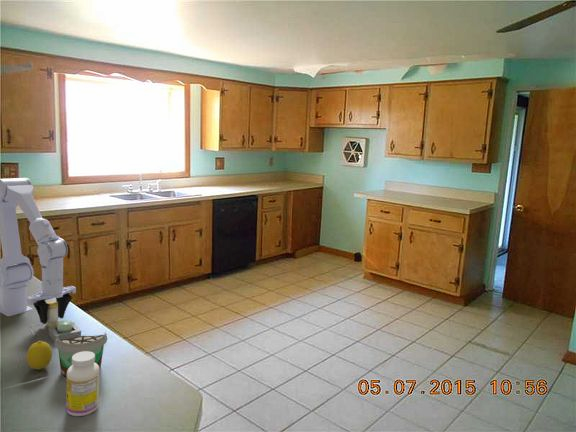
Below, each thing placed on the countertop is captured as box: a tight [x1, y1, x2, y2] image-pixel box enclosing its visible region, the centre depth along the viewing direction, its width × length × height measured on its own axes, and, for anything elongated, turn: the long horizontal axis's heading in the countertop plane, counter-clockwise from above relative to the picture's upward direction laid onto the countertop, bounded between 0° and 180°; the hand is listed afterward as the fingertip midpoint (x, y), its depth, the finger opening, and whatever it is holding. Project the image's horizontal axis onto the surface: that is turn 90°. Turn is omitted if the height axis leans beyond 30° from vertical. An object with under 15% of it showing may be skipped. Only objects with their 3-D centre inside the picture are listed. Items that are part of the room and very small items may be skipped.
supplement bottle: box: [65, 351, 101, 417], centre depth 97 cm, size 7×7×13 cm
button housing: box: [48, 321, 82, 344], centre depth 129 cm, size 7×7×2 cm
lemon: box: [26, 340, 53, 371], centre depth 110 cm, size 6×6×8 cm
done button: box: [57, 320, 74, 334], centre depth 128 cm, size 4×4×3 cm
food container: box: [54, 333, 108, 379], centre depth 110 cm, size 12×6×10 cm, turn 118°
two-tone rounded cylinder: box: [45, 300, 59, 328], centre depth 134 cm, size 4×4×7 cm
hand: (52, 320), depth 135 cm, fingers open, 5 cm apart
